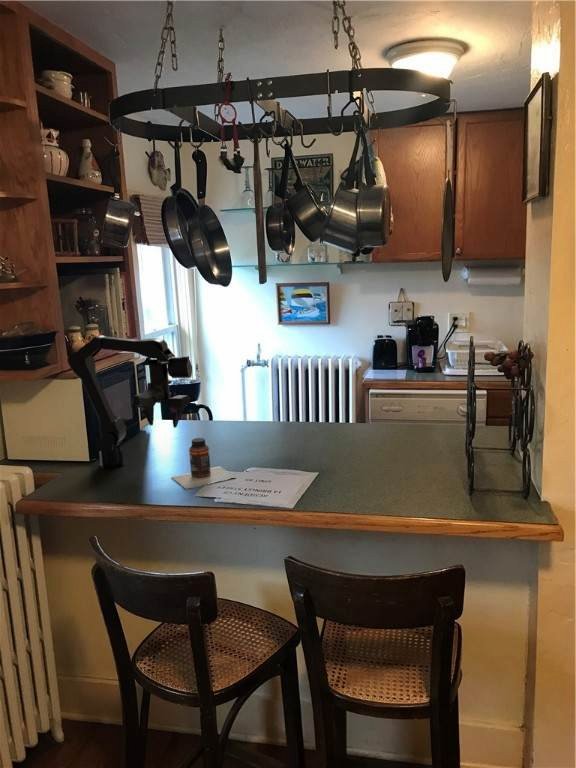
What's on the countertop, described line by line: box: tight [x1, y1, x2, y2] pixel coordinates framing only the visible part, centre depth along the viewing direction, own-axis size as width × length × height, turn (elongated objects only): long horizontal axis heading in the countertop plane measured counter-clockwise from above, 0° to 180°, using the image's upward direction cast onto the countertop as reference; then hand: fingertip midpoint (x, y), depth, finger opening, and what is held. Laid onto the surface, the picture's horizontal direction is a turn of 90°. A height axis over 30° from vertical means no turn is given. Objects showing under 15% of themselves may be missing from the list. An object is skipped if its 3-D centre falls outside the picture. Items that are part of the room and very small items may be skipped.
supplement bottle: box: [188, 437, 211, 478], centre depth 187 cm, size 6×6×11 cm
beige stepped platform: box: [171, 465, 230, 490], centre depth 187 cm, size 16×12×1 cm
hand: (163, 426), depth 198 cm, fingers open, 9 cm apart
